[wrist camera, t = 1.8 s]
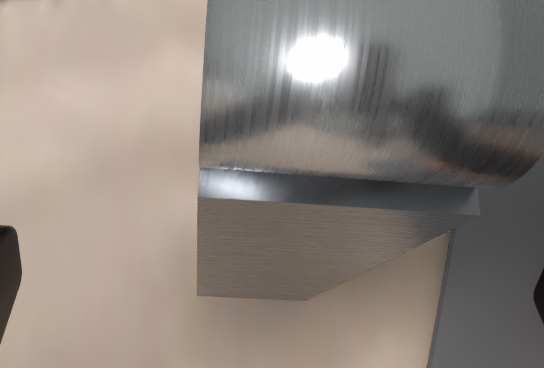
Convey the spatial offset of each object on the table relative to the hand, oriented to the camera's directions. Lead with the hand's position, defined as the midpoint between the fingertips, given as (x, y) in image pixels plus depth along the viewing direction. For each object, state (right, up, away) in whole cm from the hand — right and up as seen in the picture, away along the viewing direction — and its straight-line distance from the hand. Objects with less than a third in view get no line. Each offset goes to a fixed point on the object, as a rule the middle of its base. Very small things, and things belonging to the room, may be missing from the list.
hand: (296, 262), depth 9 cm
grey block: (-1, -1, +10) cm, 10 cm away
